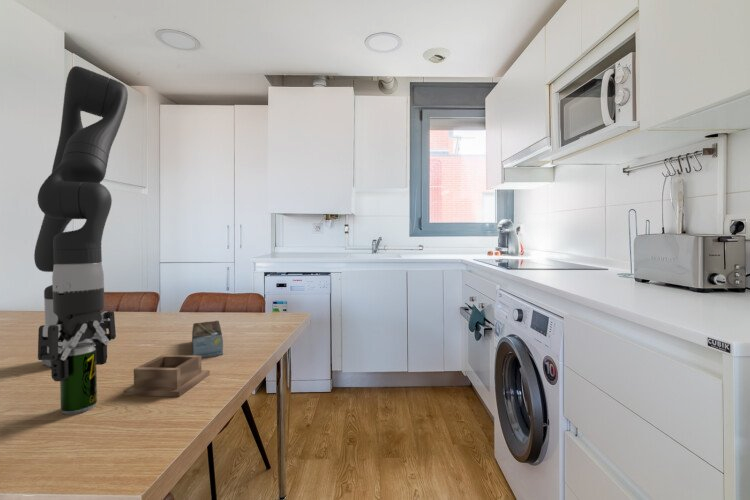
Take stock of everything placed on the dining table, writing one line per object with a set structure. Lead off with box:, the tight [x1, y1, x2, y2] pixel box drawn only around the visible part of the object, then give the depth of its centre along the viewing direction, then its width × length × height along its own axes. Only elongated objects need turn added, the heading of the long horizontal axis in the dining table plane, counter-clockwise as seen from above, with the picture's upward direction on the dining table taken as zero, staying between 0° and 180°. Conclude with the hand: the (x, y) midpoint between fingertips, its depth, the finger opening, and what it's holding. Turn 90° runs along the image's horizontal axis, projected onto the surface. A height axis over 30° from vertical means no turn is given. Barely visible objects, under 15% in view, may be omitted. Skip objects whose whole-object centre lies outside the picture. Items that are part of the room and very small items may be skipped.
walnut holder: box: [122, 354, 211, 398], centre depth 79 cm, size 12×12×5 cm
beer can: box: [59, 342, 98, 416], centre depth 68 cm, size 5×5×12 cm
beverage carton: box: [191, 320, 224, 359], centre depth 107 cm, size 8×19×7 cm, turn 26°
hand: (81, 371), depth 68 cm, fingers open, 8 cm apart
